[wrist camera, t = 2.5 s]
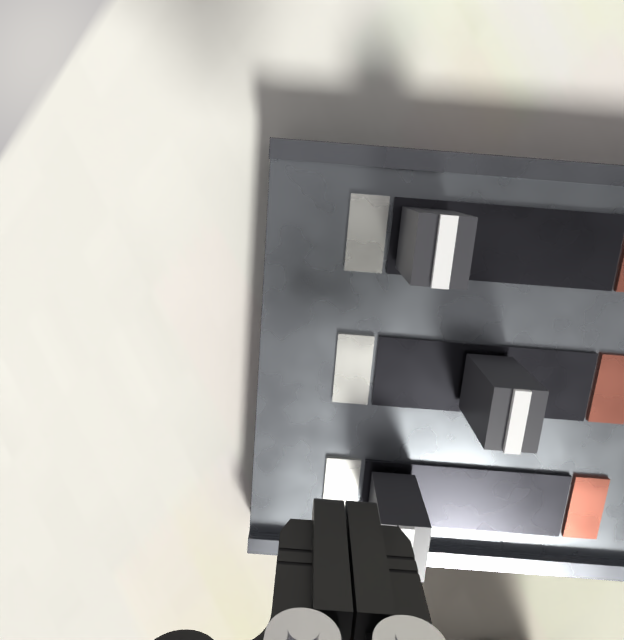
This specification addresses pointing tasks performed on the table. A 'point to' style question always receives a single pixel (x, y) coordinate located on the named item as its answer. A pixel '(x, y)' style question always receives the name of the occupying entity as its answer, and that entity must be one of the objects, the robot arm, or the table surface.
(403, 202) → the panel
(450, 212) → the breaker
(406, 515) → the breaker
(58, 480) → the table surface
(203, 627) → the table surface
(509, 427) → the breaker
